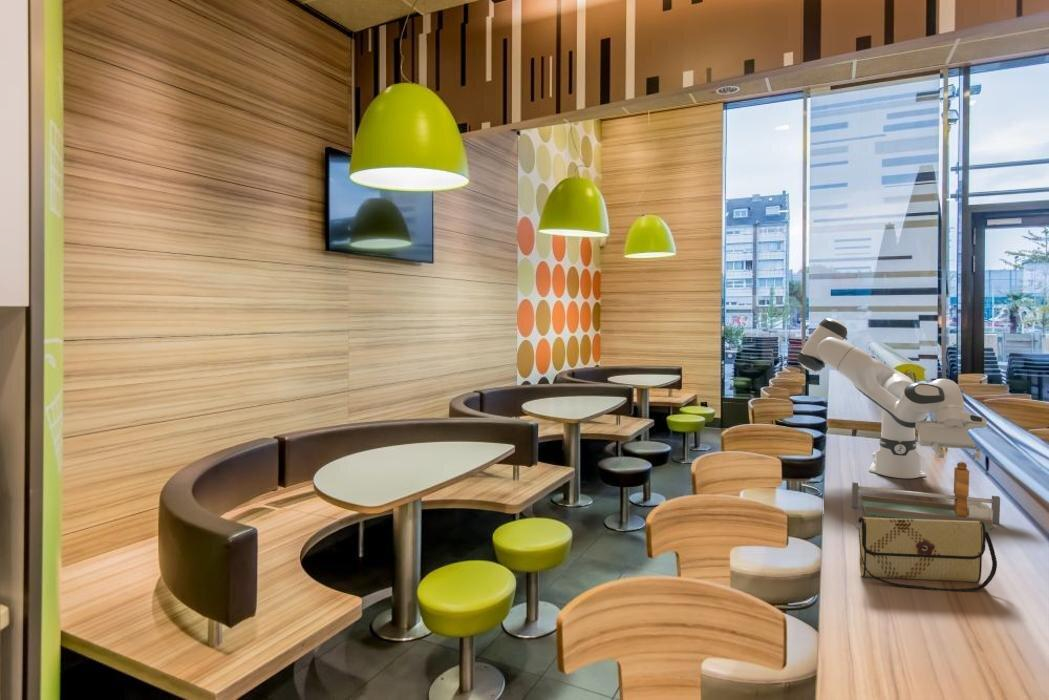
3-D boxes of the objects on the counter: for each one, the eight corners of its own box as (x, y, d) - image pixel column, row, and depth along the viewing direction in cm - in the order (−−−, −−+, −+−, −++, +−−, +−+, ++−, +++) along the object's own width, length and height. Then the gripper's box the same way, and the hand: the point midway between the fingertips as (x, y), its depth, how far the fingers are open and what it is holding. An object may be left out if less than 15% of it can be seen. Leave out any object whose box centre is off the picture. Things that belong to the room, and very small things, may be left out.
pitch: (850, 500, 195) (850, 477, 194) (991, 516, 179) (992, 490, 178) (853, 513, 183) (854, 488, 183) (1005, 530, 167) (1006, 503, 166)
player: (952, 511, 179) (954, 459, 178) (964, 512, 178) (966, 460, 177) (956, 515, 175) (957, 463, 174) (968, 516, 174) (969, 464, 173)
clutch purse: (863, 587, 135) (864, 525, 134) (851, 573, 142) (852, 514, 141) (1004, 594, 131) (1006, 530, 130) (984, 580, 138) (986, 518, 137)
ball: (980, 504, 176) (978, 516, 176) (965, 502, 177) (964, 514, 178) (983, 508, 173) (982, 520, 173) (968, 506, 174) (967, 517, 174)
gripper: (915, 414, 192) (921, 450, 184) (991, 418, 184) (1001, 455, 176) (912, 425, 197) (918, 460, 189) (986, 429, 188) (995, 466, 180)
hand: (959, 458), depth 182 cm, fingers open, 8 cm apart
